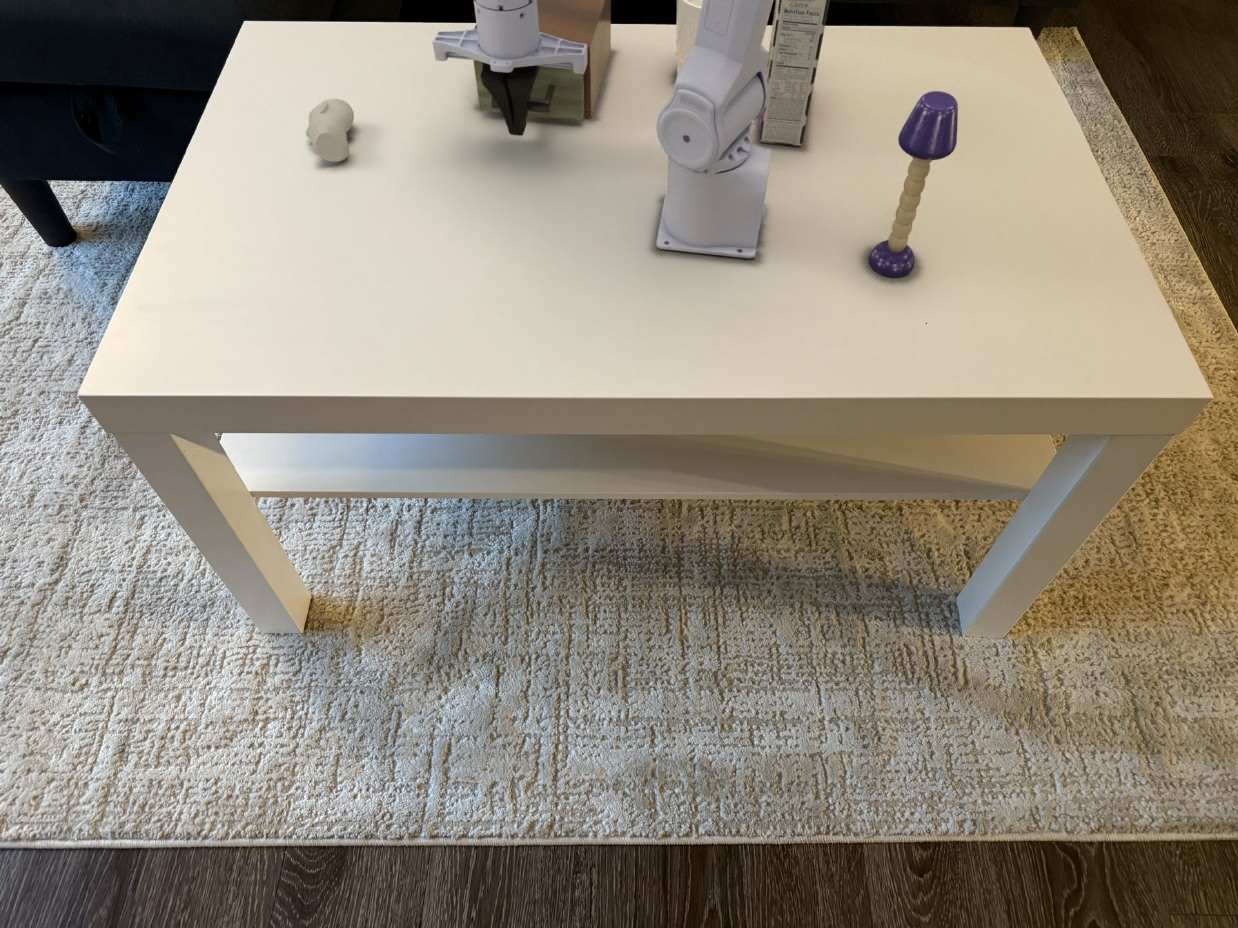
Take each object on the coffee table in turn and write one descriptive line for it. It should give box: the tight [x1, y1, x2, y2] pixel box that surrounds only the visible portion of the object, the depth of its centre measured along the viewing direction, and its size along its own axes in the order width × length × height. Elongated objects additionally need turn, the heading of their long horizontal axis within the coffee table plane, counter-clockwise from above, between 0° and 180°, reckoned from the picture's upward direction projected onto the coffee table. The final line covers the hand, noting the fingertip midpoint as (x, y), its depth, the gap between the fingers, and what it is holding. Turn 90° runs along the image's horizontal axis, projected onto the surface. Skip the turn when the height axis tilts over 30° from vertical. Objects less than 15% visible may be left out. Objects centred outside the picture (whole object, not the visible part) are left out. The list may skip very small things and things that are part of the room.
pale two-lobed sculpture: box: [305, 98, 355, 162], centre depth 91 cm, size 4×8×5 cm
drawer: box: [472, 60, 585, 121], centre depth 94 cm, size 17×11×6 cm
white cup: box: [675, 0, 703, 78], centre depth 96 cm, size 8×8×10 cm
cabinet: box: [473, 0, 612, 119], centre depth 96 cm, size 14×13×8 cm
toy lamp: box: [868, 90, 959, 278], centre depth 75 cm, size 5×5×17 cm
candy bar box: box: [758, 0, 831, 147], centre depth 89 cm, size 11×5×16 cm, turn 171°
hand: (518, 129), depth 89 cm, fingers closed, pressing on drawer
